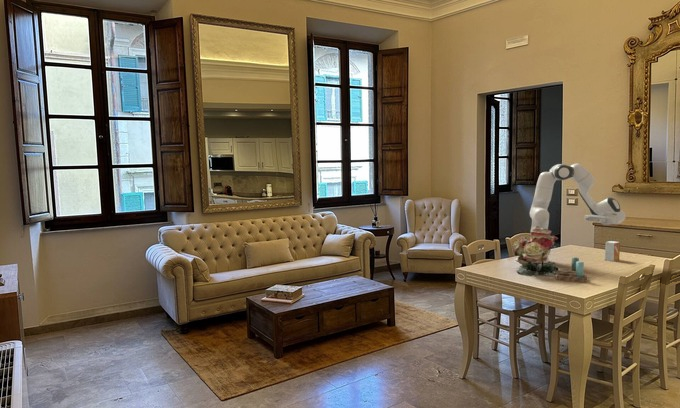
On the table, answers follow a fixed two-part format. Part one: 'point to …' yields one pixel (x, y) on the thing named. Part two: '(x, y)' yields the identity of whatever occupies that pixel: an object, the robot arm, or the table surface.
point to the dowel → (579, 269)
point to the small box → (612, 250)
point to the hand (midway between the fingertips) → (592, 219)
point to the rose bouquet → (535, 252)
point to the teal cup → (573, 270)
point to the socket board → (571, 277)
